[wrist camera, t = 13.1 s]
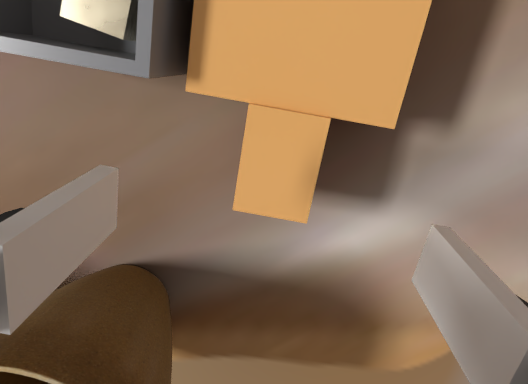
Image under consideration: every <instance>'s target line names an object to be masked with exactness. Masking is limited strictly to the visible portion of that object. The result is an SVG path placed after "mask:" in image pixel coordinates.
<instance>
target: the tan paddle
mask: <svg viewBox="0 0 528 384" xmlns="http://www.w3.org/2000/svg"><path fill="white" fill-rule="evenodd" d="M431 2H432V0H194V6H193V17H192V27H191V38H190V48H189V59H188V70H187V80H186V91H187V92H193V93H198V94H203V95H209V96H214V97H220V98H225V99H231V100H236V101H242V102H247V103H249V106H248V113H247V119H246V126H245V132H244V139H243V145H242V152H241V158H240V165H239V171H238V178H237V184H236V191H235V197H234V204H233V210H235V211H241V212H246V213H252V214H257V215H263V216H268V217H274V218H279V219H285V220H290V221H296V222H301V223H307V220H308V216H309V211H310V207H311V203H312V198H313V194H314V190H315V185H316V181H317V177H318V172H319V168H320V164H321V160H322V155H323V151H324V147H325V142H326V138H327V134H328V129H329V125H330V121H331V118H335V119H341V120H346V121H352V122H357V123H363V124H368V125H374V126H379V127H385V128H390V129H395V125H396V122H397V118H398V115H399V112H400V108H401V105H402V101H403V98H404V95H405V91H406V88H407V84H408V81H409V78H410V74H411V71H412V67H413V64H414V60H415V57H416V54H417V50H418V47H419V43H420V40H421V37H422V33H423V30H424V26H425V23H426V19H427V16H428V13H429V9H430V6H431Z"/></svg>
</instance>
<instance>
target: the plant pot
mask: <svg viewBox="0 0 528 384" xmlns="http://www.w3.org/2000/svg"><path fill="white" fill-rule="evenodd" d="M171 371H172V325H171V313H170V304H169V298H168V294H167V291H166V289H165V287H164V285H163V284H162V282H161V281H160V280H159V279H158V278H157V277H156V276H155V275H153V274H152V273H150V272H149V271H147V270H145V269H143V268H140V267H137V266H133V265H116V266H112V267H109V268H106V269H103V270H100V271H98V272H95V273H93V274H90V275H87V276H85V277H83V278H80V279H78V280H76V281H74V282H71V283H69V284H67V285H65V286H63V287H61V288H59V289H57V290H55V291H53V292H52V293H51V294H50V295H49V296H48V297H47V298H46V299H45V300H44V301H43V302H42V303H41V304H40V305H39V306H38V307H37V308H36V309H35V310H34V311H33V312H32V313H31V314H30V316H29V317H28V318H27V319H26V320H25V321H24V322H23V323H22V324H21V325H20V326H19V327H18V328H17V329H16V330H15V331H14V332H13V333H12V334H11V335H8V334H2V333H0V384H171Z"/></svg>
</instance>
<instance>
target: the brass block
mask: <svg viewBox="0 0 528 384" xmlns="http://www.w3.org/2000/svg"><path fill="white" fill-rule="evenodd" d="M137 13H138V0H62V4H61V11H60V16H61V17H64V18H67V19H69V20H72V21H75V22H77V23H80V24H83V25H85V26H88V27H91V28H93V29H96V30H99V31H101V32H104V33H107V34H109V35H112V36H115V37H117V38H120V39H123V40H129V41H136V34H137Z"/></svg>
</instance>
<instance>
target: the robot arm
mask: <svg viewBox="0 0 528 384" xmlns="http://www.w3.org/2000/svg"><path fill="white" fill-rule="evenodd" d="M118 172H119V168H115V167H110V166H104V165H99V166H97V167H95V168H94V169H92V170H90V171H89V172H87V173H85V174H83V175H82V176H80V177H78V178H76V179H75V180H73V181H71V182H70V183H68V184H66V185H64V186H63V187H61V188H59V189H57V190H56V191H54V192H52V193H51V194H49V195H47V196H45V197H44V198H42V199H40V200H38V201H37V202H35V203H33V204H31V205H30V206H28V207H26V208H19V209H15V210H12V211H8V212H5V213H3V214H1V215H0V333H2V334H8V335H11V334H12V333H13V332H14V331H15V330H16V329H17V328H18V327H19V326H20V325H21V324H22V323H23V322H24V321H25V320H26V319H27V318H28V317H29V316H30V314H31V313H32V312H33V311H34V310H35V309H36V308H37V307H38V306H39V305H40V304H41V303H42V302H43V301H44V300H45V299H46V298H47V297H48V296H49V295H50V294H51V293H52V292H53V291H54V290H55V289H56V288H57V287H58V286H59V285H60V284H61V283H62V282H63V281H64V280H65V279H66V278H67V277H68V276H69V275H70V274H71V273H72V272H73V271H74V270H75V269H76V268H77V267H78V266H79V265H80V264H81V263H82V262H83V261H84V260H85V259H86V258H87V257H88V256H89V255H90V254H91V253H92V252H93V251H94V250H95V249H96V248H97V247H98V246H99V245H100V244H101V243H102V242H103V241H104V240H105V239H106V238H107V237H108V236H109V235H110V234H111V233H112V232H113V231H114V230H115V229H116V228H117V202H118ZM412 282H413V284H414V285H415V287H416V289H417V291H418V293H419V294H420V296H421V298H422V300H423V301H424V303H425V305H426V307H427V308H428V310H429V312H430V314H431V315H432V317H433V319H434V321H435V323H436V324H437V326H438V328H439V330H440V331H441V333H442V335H443V337H444V338H445V340H446V342H447V344H448V346H449V347H450V349H451V351H452V353H453V354H454V356H455V358H456V360H457V361H458V363H459V365H460V367H461V368H462V370H463V372H464V374H465V375H466V377H467V379H468V381H469V383H470V384H528V303H527V302H526V301H524V300H523V299H521V298H520V297H518V296H517V295H515V294H514V293H513V292H512V291H511V290H510V289H509V288H508V287H507V286H506V285H505V284H504V283H503V281H502V280H501V279H500V278H499V277H498V276H497V275H496V274H495V273H494V272H493V271H492V270H491V269H490V268H489V267H488V266H487V265H486V264H485V263H484V262H483V261H482V260H481V259H480V258H479V257H478V256H477V255H476V254H475V253H474V252H473V251H472V249H471V248H470V247H469V246H468V245H467V244H466V243H465V242H464V241H463V240H462V239H461V238H460V237H459V236H458V235H457V234H456V233H455V232H454V231H453V230H452V229H451V228H450V227H445V226H439V225H433V224H432V226H431V228H430V231H429V234H428V237H427V239H426V242H425V245H424V248H423V250H422V253H421V256H420V259H419V261H418V264H417V267H416V270H415V272H414V275H413V278H412Z"/></svg>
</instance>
